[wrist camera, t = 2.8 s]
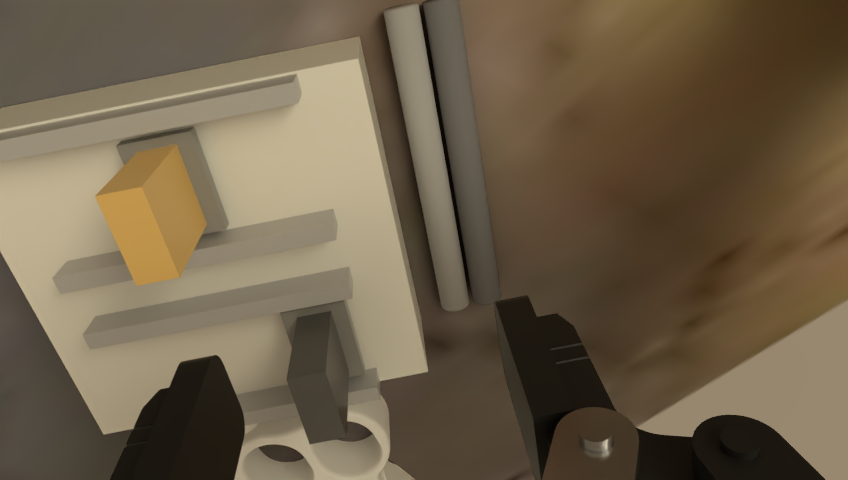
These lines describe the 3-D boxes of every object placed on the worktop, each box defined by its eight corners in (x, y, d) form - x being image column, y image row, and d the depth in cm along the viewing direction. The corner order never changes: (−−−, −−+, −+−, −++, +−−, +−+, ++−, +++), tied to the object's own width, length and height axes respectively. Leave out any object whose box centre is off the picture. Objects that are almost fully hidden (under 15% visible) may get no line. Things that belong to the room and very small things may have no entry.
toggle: (344, 293, 30) (340, 360, 25) (364, 366, 32) (364, 441, 27) (281, 306, 30) (266, 375, 25) (306, 378, 32) (296, 454, 27)
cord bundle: (455, -7, 29) (460, -2, 27) (498, 286, 36) (503, 301, 35) (382, 8, 29) (383, 13, 28) (440, 298, 36) (442, 313, 35)
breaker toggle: (193, 126, 25) (157, 171, 21) (228, 223, 27) (202, 283, 23) (121, 141, 25) (69, 189, 21) (161, 236, 27) (121, 298, 23)
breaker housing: (359, 36, 29) (357, 66, 24) (420, 316, 37) (430, 391, 31) (2, 107, 30) (-86, 154, 24) (135, 372, 37) (92, 456, 31)
